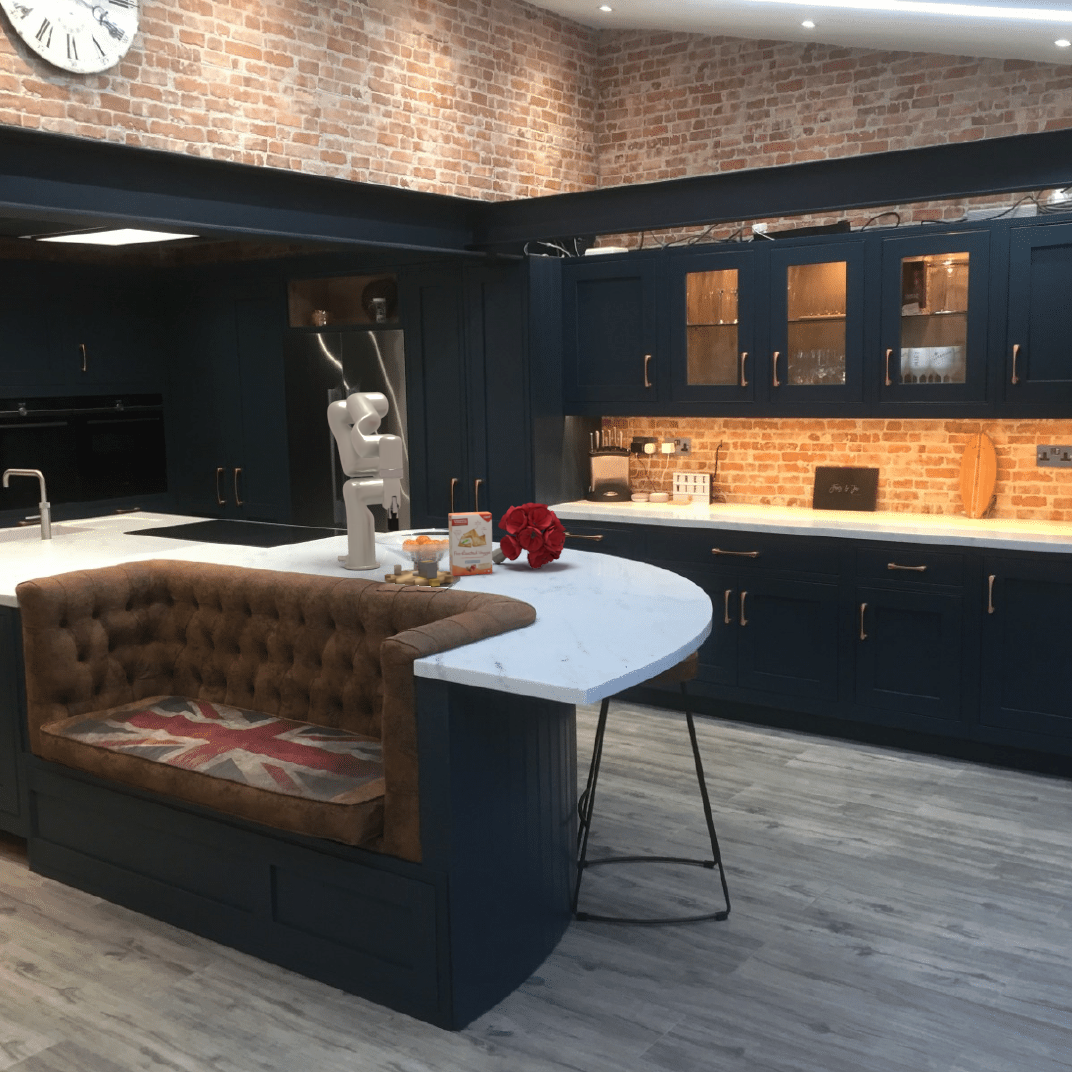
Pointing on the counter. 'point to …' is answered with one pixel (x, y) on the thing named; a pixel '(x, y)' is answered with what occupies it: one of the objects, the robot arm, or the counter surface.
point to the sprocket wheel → (417, 578)
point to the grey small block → (427, 569)
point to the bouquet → (530, 535)
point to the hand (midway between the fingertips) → (393, 529)
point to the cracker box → (470, 543)
